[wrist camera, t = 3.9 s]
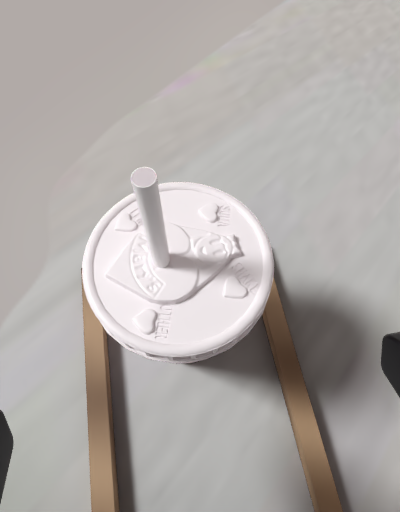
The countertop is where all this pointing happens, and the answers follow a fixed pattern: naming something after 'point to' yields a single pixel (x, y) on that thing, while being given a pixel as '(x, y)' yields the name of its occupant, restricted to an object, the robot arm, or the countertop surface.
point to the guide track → (292, 387)
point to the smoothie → (177, 270)
